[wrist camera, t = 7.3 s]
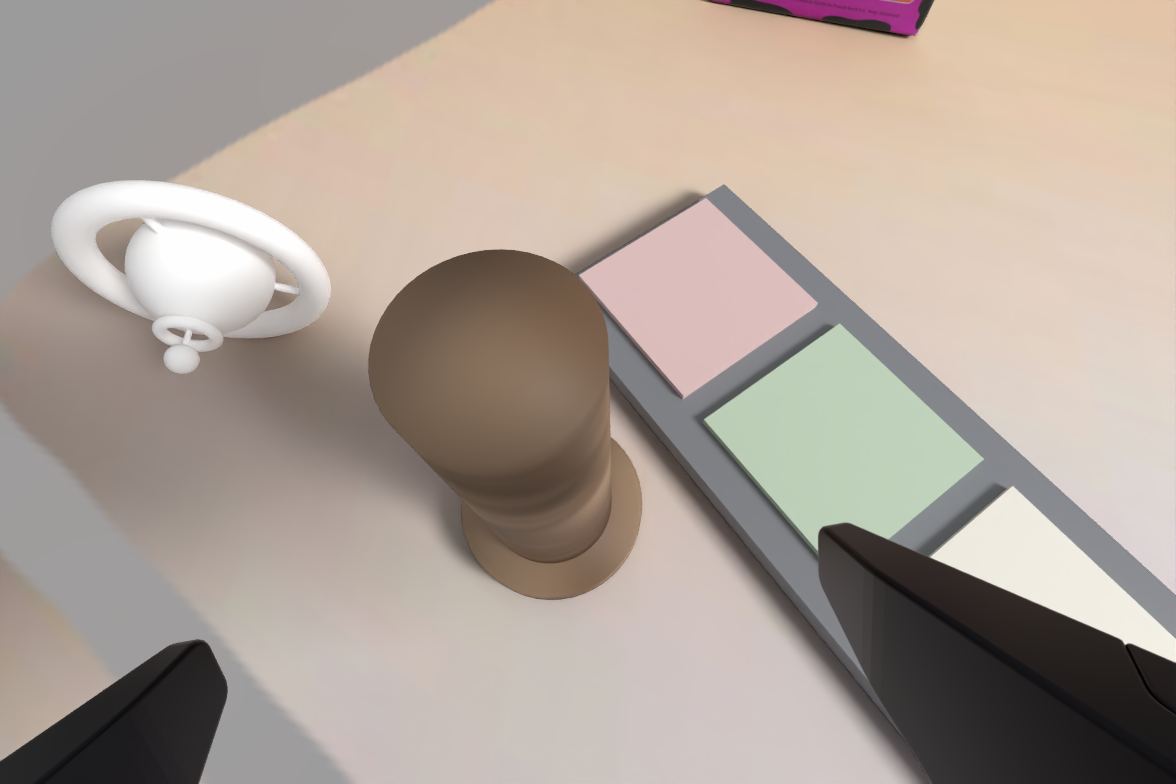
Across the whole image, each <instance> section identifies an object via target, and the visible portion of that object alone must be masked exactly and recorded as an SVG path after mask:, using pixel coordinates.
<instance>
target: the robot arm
mask: <svg viewBox="0 0 1176 784" xmlns="http://www.w3.org/2000/svg"><path fill="white" fill-rule="evenodd" d="M818 575H819V580H820V583H821V586H822V589H823V591H824V593H825V595H826V597H827V599H828V601H829V603H830V605H831V607H832V609H833V611H834V613H835V615H836V617H837V619H838V621H839V623H840V625H841V627H842V629H843V631H844V633H845V635H846V637H847V640H848V642H849V644H850V646H851V648H852V650H853V652H854V654H855V656H856V658H857V660H858V662H859V664H860V666H861V668H862V670H863V672H864V674H865V675H866V677H867V679H868V681H869V683H870V685H871V687H872V688H873V690H874V692H875V693H876V695H877V697H878V698H879V700H880V702H881V703H882V705H883V706H884V708H885V710H886V711H887V713H888V714H889V716H890V717H891V719H892V721H893V722H894V724H895V725H896V727H897V729H898V730H899V732H900V733H901V735H902V736H903V738H904V740H905V741H906V743H907V744H908V746H909V748H910V749H911V751H912V752H913V754H914V756H915V757H916V759H917V760H918V762H919V763H920V765H921V767H922V768H923V770H924V771H925V773H926V775H927V776H928V778H929V779H930V781H931V782H932V784H1176V662H1173V661H1171V660H1169V659H1166V658H1164V657H1162V656H1159V655H1157V654H1155V653H1152V652H1150V651H1148V650H1146V649H1143V648H1141V647H1139V646H1136V645H1134V644H1131V643H1127V644H1126V645H1125V644H1124V642H1123V641H1122V640H1121V639H1119V638H1117V637H1115V636H1112V635H1110V634H1108V633H1105V632H1103V631H1101V630H1098V629H1096V628H1094V627H1091V626H1089V625H1087V624H1084V623H1082V622H1080V621H1077V620H1075V619H1073V618H1070V617H1068V616H1066V615H1063V614H1061V613H1059V612H1056V611H1054V610H1052V609H1049V608H1047V607H1045V606H1042V605H1040V604H1038V603H1035V602H1033V601H1031V600H1028V599H1026V598H1024V597H1021V596H1019V595H1017V594H1014V593H1012V592H1010V591H1007V590H1005V589H1003V588H1000V587H998V586H996V585H993V584H991V583H989V582H986V581H984V580H982V579H979V578H977V577H975V576H972V575H970V574H968V573H965V572H963V571H961V570H958V569H956V568H954V567H951V566H949V565H947V564H944V563H942V562H940V561H937V560H935V559H933V558H930V557H928V556H926V555H923V554H921V553H919V552H916V551H914V550H912V549H909V548H907V547H905V546H902V545H900V544H898V543H895V542H893V541H891V540H888V539H886V538H884V537H881V536H879V535H877V534H874V533H872V532H870V531H867V530H865V529H863V528H860V527H858V526H856V525H853V524H851V523H847V522H844V523H838V524H832V525H827V526H823V527H822V528H821V529H820V530H819V533H818ZM227 692H228V690H227V682H226V679H225V677H224V675H223V673H222V671H221V669H220V667H219V664H218V663H217V660H216V658H215V656H214V654H213V652H212V650H211V648H210V646H209V645H208V644H207V643H206V642H205V641H204V640H199V639H198V640H197V639H196V640H191V641H185V642H180V643H176V644H172V645H169V646H168V647H166V648H165V649H163V650H162V651H160V652H159V653H157V654H156V655H154V656H153V657H151V658H150V659H148V660H147V661H146V662H144V663H143V664H141V665H140V666H138V667H137V668H135V669H134V670H132V671H131V672H130V673H128V674H127V675H125V676H124V677H122V678H121V679H119V680H118V681H116V682H115V683H114V684H112V685H111V686H109V687H108V688H106V689H105V690H103V691H102V692H100V693H99V694H98V695H96V696H95V697H93V698H92V699H90V700H89V701H87V702H86V703H84V704H83V705H82V706H80V707H79V708H77V709H76V710H74V711H73V712H71V713H70V714H68V715H67V716H66V717H64V718H63V719H61V720H60V721H58V722H57V723H55V724H54V725H52V726H51V727H50V728H48V729H47V730H45V731H44V732H42V733H41V734H39V735H38V736H36V737H35V738H34V739H32V740H31V741H29V742H28V743H26V744H25V745H23V746H22V747H20V748H19V749H18V750H16V751H15V752H13V753H12V754H10V755H9V756H7V757H6V758H4V759H3V760H2V761H0V784H199V782H200V779H201V776H202V773H203V770H204V766H205V763H206V760H207V757H208V754H209V751H210V748H211V745H212V742H213V739H214V736H215V733H216V730H217V727H218V724H219V721H220V718H221V715H222V711H223V709H224V706H225V703H226V699H227Z"/></svg>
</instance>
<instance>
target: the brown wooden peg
mask: <svg viewBox="0 0 1176 784" xmlns="http://www.w3.org/2000/svg"><path fill="white" fill-rule="evenodd" d="M369 379H370V386H371V389H372V392H373V396H374V399H375V401H376V403H377V405H378V407H379V409H380V411H381V413H382V414H383V416H384V417H385V419H386V420H387V421H388V423H389V424H390V425H391V426H392V427H393V428H394V429H395V430H396V431H397V432H398V433H399V434H400V436H401V437H402V438H403V439H404V440H405V441H406V442H407V443H408V444H409V445H410V446H411V447H412V448H413V449H414V450H415V451H416V452H417V453H418V454H419V455H420V456H421V457H422V458H423V459H424V460H425V461H426V462H427V463H428V464H429V466H430V467H431V468H432V469H433V470H434V471H435V472H436V473H437V474H438V475H439V476H440V477H441V478H442V479H443V480H444V481H445V482H446V483H447V484H448V485H449V486H450V487H451V488H452V489H453V490H454V491H455V492H456V493H457V494H458V495H459V497H460V498H461V499H462V505H461V516H462V525H463V530H464V534H465V537H466V540H467V543H468V546H469V547H470V549H471V551H472V553H473V555H474V557H475V558H476V560H477V561H478V562H479V564H480V565H481V566H482V567H483V568H484V569H485V571H486V572H487V573H488V574H489V575H491V576H492V577H493V578H494V579H496V580H497V581H498V582H500V583H501V584H503V585H504V586H506V587H508V588H509V589H511V590H513V591H515V592H517V593H520V594H522V595H525V596H528V597H532V598H536V599H545V600H559V599H566V598H572V597H575V596H578V595H581V594H584V593H586V592H589V591H591V590H593V589H595V588H596V587H598V586H599V585H601V584H603V583H604V582H605V581H607V580H608V579H609V578H610V577H611V576H612V575H614V574H615V572H616V571H617V570H618V569H619V568H620V567H621V566H622V565H623V563H624V562H625V560H626V559H627V557H628V556H629V554H630V552H631V550H632V548H633V546H634V543H635V541H636V538H637V535H638V531H639V526H640V521H641V514H642V493H641V487H640V482H639V479H638V476H637V473H636V470H635V468H634V466H633V464H632V462H631V460H630V459H629V457H628V456H627V454H626V453H625V451H624V450H623V449H622V448H621V447H620V445H619V444H618V443H617V442H616V441H615V440H614V439H612V438H611V437H610V390H609V344H608V332H607V327H606V322H605V319H604V316H603V313H602V310H601V308H600V306H599V304H598V303H597V301H596V299H595V297H594V296H593V294H592V293H591V292H590V290H589V289H588V288H587V286H586V285H585V284H584V283H583V282H582V281H581V280H580V279H579V278H578V277H577V276H575V275H574V274H573V273H571V272H570V271H569V270H568V269H566V268H564V267H563V266H561V265H559V264H557V263H556V262H554V261H551V260H549V259H547V258H544V257H542V256H538V255H535V254H531V253H527V252H522V251H516V250H484V251H478V252H472V253H468V254H464V255H460V256H457V257H454V258H451V259H449V260H446V261H443V262H441V263H439V264H437V265H435V266H433V267H431V268H430V269H428V270H427V271H425V272H423V273H422V274H420V275H419V276H417V277H416V278H415V279H414V280H412V281H411V282H410V283H409V284H407V285H406V286H405V287H404V288H403V289H402V290H401V291H400V292H399V293H398V294H397V295H396V297H395V298H394V299H393V301H392V302H391V303H390V304H389V306H388V307H387V309H386V310H385V312H384V314H383V315H382V317H381V318H380V321H379V323H378V325H377V327H376V330H375V332H374V335H373V339H372V342H371V346H370V352H369Z"/></svg>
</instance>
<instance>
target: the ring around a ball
mask: <svg viewBox="0 0 1176 784" xmlns="http://www.w3.org/2000/svg"><path fill="white" fill-rule="evenodd" d="M132 218H140V219H142V220H143V221H144V223H143V224H142V225H141V226H140V227H139V228H138V229H137V230H136V231H135V233H134V235H133V236H132V238H131V240H130V242H129V244H128V246H127V250H126V255H125V273H126V275H125V274H123V273H122V272H120V271H119V270H118V269H117V268H115V267H114V266H113V265H112V264H111V263H110V262H109V261H108V260H107V259H106V258H105V257H104V256H103V255H102V253H101V252H100V250H99V248H98V247H97V243H96V234H97V232H98V231H99V230H100V229H101V228H102V227H104V226H105V225H107V224H109V223H113V222H116V221H119V220H125V219H132ZM51 239H52V242H53V245H54V247H55V250H56V252H57V255H58V256H59V257H60V259H61V260H62V262H63V263H64V265H65V266H66V267H67V268H68V269H69V270H70V271H71V273H72V274H73V275H74V276H75V277H76V278H77V279H78V280H80V281H81V282H82V283H83V284H85V285H86V286H87V287H89V288H90V289H91V290H92V291H94V292H96V293H97V294H99V295H100V296H102V297H103V298H105V299H107V300H108V301H110V302H112V303H114V304H116V305H118V306H119V307H121V308H123V309H125V310H127V311H130V312H132V313H134V314H137V315H139V316H141V317H144V318H146V319H149V320H152V321H154V322H153V324H152V332H153V334H154V335H155V336H156V337H157V338H158V339H159V340H160V341H162V342H164V343H165V344H167V345H170V346H171V347H170V348H168V349H167V350H166V352H165V354H164V363H165V365H166V367H167V368H168V369H169V370H171V371H173V372H175V373H179V374H185V373H190V372H192V371H193V370H195V369H196V368H197V366H198V365H199V362H200V357H199V354H198V352H205V351H211V350H215V349H217V348H218V347H220V346H221V345H222V343H223V337H228V338H266V337H275V336H280V335H284V334H289V333H292V332H295V331H298V330H300V329H303V328H305V327H306V326H308V325H310V324H312V323H313V322H314V321H315V320H316V319H318V318H319V317H320V316H321V315H322V313H323V312H324V310H325V309H326V307H327V306H328V303H329V299H330V295H331V288H330V280H329V277H328V274H327V271H326V269H325V267H324V265H323V264H322V262H321V260H320V259H319V257H318V256H317V255H316V253H315V252H314V251H313V250H312V249H311V248H310V246H309V245H308V244H307V243H306V242H304V241H303V240H302V239H301V238H300V237H299V236H298V235H296V234H295V233H294V232H293V231H291V230H290V229H288V228H287V227H286V226H284V225H283V224H281V223H280V222H278V221H277V220H275V219H273V218H271V217H270V216H268V215H266V214H264V213H262V212H261V211H259V210H257V209H254V208H252V207H250V206H248V205H246V204H243V203H241V202H239V201H236V200H234V199H231V198H228V197H225V196H222V195H220V194H217V193H214V192H210V191H206V190H202V189H199V188H195V187H191V186H186V185H180V184H174V183H169V182H159V181H147V180H126V181H114V182H108V183H101V184H97V185H94V186H91V187H88V188H85V189H82V190H80V191H78V192H77V193H75V194H73V195H71V196H70V197H68V198H67V199H65V200H64V202H63V203H62V204H61V205H60V206H59V207H58V208H57V209H56V211H55V214H54V216H53V219H52V222H51ZM271 256H273V257H274V258H275V259H277V260H278V261H279V262H280V263H282V264H283V265H284V266H285V267H286V268H287V269H288V270H289V271H290V272H291V273H292V275H293V276H294V277H295V279H296V280H297V283H298V285H299V287H296V286H291V285H286V284H281V283H276V282H275V281H276V273H275V267H274V263H273V259H272V257H271ZM274 290H276V291H281V292H286V293H291V294H296V295H298V296H297V298H296V299H295V300H294V301H293V302H291V303H290V304H288V305H286V306H283V307H281V308H277V309H273V310H269V311H264V310H265V309H266V308H267V306H268V304H269V302H270V300H271V298H272V296H273V293H274ZM168 328H175V329H178V330H181V331H184V332H185V335H184V338H183V337H180V336H177V335H175V334H173V333H171V332H169V331H168V330H167V329H168ZM192 333H193V334H200V335H206V336H207V337H208V338H209V339H207V340H192V339H191V336H192Z"/></svg>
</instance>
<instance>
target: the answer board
mask: <svg viewBox="0 0 1176 784" xmlns="http://www.w3.org/2000/svg"><path fill="white" fill-rule="evenodd" d="M575 276H577V277H578V278H579V279H580V280H581V281H582V282H583V283H584V284H585V285H586V286H587V288H588V289H589V290H590V292H591V293H592V294H593V296H594V297H595V299H596V301H597V303H598V304H599V306H600V308H601V310H602V313H603V316H604V319H605V322H606V327H607V332H608V344H609V378H610V379H611V380H612V382H613V383H614V384H615V385H616V387H617V388H618V389H619V390H620V391H621V393H622V394H623V395H624V396H625V398H626V399H627V400H628V401H629V402H630V404H631V405H632V406H633V407H634V409H635V410H636V411H637V412H638V413H639V415H640V416H641V417H642V418H643V420H644V421H645V422H646V423H647V425H648V426H649V427H650V428H651V429H652V431H653V432H654V433H655V434H656V436H657V437H658V438H659V439H660V440H661V442H662V443H663V444H664V445H665V447H666V448H667V449H668V450H669V452H670V453H671V454H672V455H673V456H674V458H675V459H676V460H677V461H678V463H679V464H680V465H681V466H682V467H683V469H684V470H685V471H686V472H687V474H688V475H689V476H690V477H691V478H692V480H693V481H694V482H695V483H696V485H697V486H698V487H699V488H700V490H701V491H702V492H703V493H704V494H705V496H706V497H707V498H708V499H709V501H710V502H711V503H712V504H713V505H714V507H715V508H716V509H717V510H718V512H719V513H720V514H721V515H722V517H723V518H724V519H725V520H726V521H727V523H728V524H729V525H730V526H731V528H732V529H733V530H734V531H735V532H736V534H737V535H738V536H739V537H740V539H741V540H742V541H743V542H744V543H745V545H746V546H747V547H748V548H749V550H750V551H751V552H752V553H753V555H754V556H755V557H756V558H757V559H758V561H759V562H760V563H761V564H762V566H763V567H764V568H765V569H766V570H767V572H768V573H769V574H770V575H771V577H772V578H773V579H774V580H775V582H776V583H777V584H778V585H779V586H780V588H781V589H782V590H783V591H784V593H785V594H786V595H787V596H788V597H789V599H790V600H791V601H792V602H793V604H794V605H795V606H796V607H797V608H798V610H799V611H800V612H801V613H802V615H803V616H804V617H805V618H806V620H807V621H808V622H809V623H810V624H811V626H812V627H813V628H814V629H815V631H816V632H817V633H818V634H819V635H820V637H821V638H822V639H823V640H824V642H825V643H826V644H827V645H828V647H829V648H830V649H831V650H832V651H833V653H834V654H835V655H836V656H837V658H838V659H839V660H840V661H841V662H842V664H843V665H844V666H845V667H846V669H847V670H848V671H849V672H850V673H851V675H852V676H853V677H854V678H855V680H856V681H857V682H858V683H859V685H860V686H861V687H862V688H863V689H864V691H865V692H866V693H867V694H868V696H869V697H870V698H871V699H872V700H873V702H874V703H875V704H876V705H877V707H878V708H879V709H880V710H881V712H882V713H883V714H884V715H885V716H886V718H887V719H888V720H889V721H890V723H891V724H892V725H893V726H894V727H895V729H896V730H897V731H898V732H899V730H898V729H897V727H896V725H895V724H894V722H893V721H892V719H891V717H890V716H889V714H888V713H887V711H886V710H885V708H884V706H883V705H882V703H881V702H880V700H879V698H878V697H877V695H876V693H875V692H874V690H873V688H872V687H871V685H870V683H869V681H868V679H867V677H866V675H865V674H864V672H863V670H862V668H861V666H860V664H859V662H858V660H857V658H856V656H855V654H854V652H853V650H852V648H851V646H850V644H849V642H848V640H847V637H846V635H845V633H844V631H843V629H842V627H841V625H840V623H839V621H838V619H837V617H836V615H835V613H834V611H833V609H832V607H831V605H830V603H829V601H828V599H827V597H826V595H825V593H824V591H823V589H822V586H821V583H820V580H819V575H818V533H819V530H820V529H821V528H822V527H823V526H827V525H832V524H838V523H844V522H847V523H851V524H853V525H856V526H858V527H860V528H863V529H865V530H867V531H870V532H872V533H874V534H877V535H879V536H881V537H884V538H886V539H888V540H891V541H893V542H895V543H898V544H900V545H902V546H905V547H907V548H909V549H912V550H914V551H916V552H919V553H921V554H923V555H926V556H928V557H930V558H933V559H935V560H937V561H940V562H942V563H944V564H947V565H949V566H951V567H954V568H956V569H958V570H961V571H963V572H965V573H968V574H970V575H972V576H975V577H977V578H979V579H982V580H984V581H986V582H989V583H991V584H993V585H996V586H998V587H1000V588H1003V589H1005V590H1007V591H1010V592H1012V593H1014V594H1017V595H1019V596H1021V597H1024V598H1026V599H1028V600H1031V601H1033V602H1035V603H1038V604H1040V605H1042V606H1045V607H1047V608H1049V609H1052V610H1054V611H1056V612H1059V613H1061V614H1063V615H1066V616H1068V617H1070V618H1073V619H1075V620H1077V621H1080V622H1082V623H1084V624H1087V625H1089V626H1091V627H1094V628H1096V629H1098V630H1101V631H1103V632H1105V633H1108V634H1110V635H1112V636H1115V637H1117V638H1119V639H1121V640H1122V641H1123V642H1124V644H1125V645H1126V644H1127V643H1131V644H1134V645H1136V646H1139V647H1141V648H1143V649H1146V650H1148V651H1150V652H1152V653H1155V654H1157V655H1159V656H1162V657H1164V658H1166V659H1169V660H1171V661H1173V662H1176V595H1175V594H1174V593H1173V592H1172V591H1171V590H1170V589H1168V588H1167V587H1166V586H1165V585H1164V584H1163V583H1162V582H1161V581H1160V580H1159V579H1157V578H1156V577H1155V576H1154V575H1153V574H1152V573H1151V572H1150V571H1149V570H1148V569H1146V568H1145V567H1144V566H1143V565H1142V564H1141V563H1140V562H1139V561H1138V560H1137V559H1135V558H1134V557H1133V556H1132V555H1131V554H1130V553H1129V552H1128V551H1127V550H1126V549H1124V548H1123V547H1122V546H1121V545H1120V544H1119V543H1118V542H1117V541H1116V540H1115V539H1113V538H1112V537H1111V536H1110V535H1109V534H1108V533H1107V532H1106V531H1105V530H1104V529H1102V528H1101V527H1100V526H1099V525H1098V524H1097V523H1096V522H1095V521H1094V520H1093V519H1091V518H1090V517H1089V516H1088V515H1087V514H1086V513H1085V512H1084V511H1083V510H1082V509H1081V508H1079V507H1078V506H1077V505H1076V504H1075V503H1074V502H1073V501H1072V500H1071V499H1070V498H1068V497H1067V496H1066V495H1065V494H1064V493H1063V492H1062V491H1061V490H1060V489H1059V488H1057V487H1056V486H1055V485H1054V484H1053V483H1052V482H1051V481H1050V480H1049V479H1048V478H1046V477H1045V476H1044V475H1043V474H1042V473H1041V472H1040V471H1039V470H1038V469H1037V468H1035V467H1034V466H1033V465H1032V464H1031V463H1030V462H1029V461H1028V460H1027V459H1026V458H1024V457H1023V456H1022V455H1021V454H1020V453H1019V452H1018V451H1017V450H1016V449H1015V448H1013V447H1012V446H1011V445H1010V444H1009V443H1008V442H1007V441H1006V440H1005V439H1004V438H1002V437H1001V436H1000V435H999V434H998V433H997V432H996V431H995V430H994V429H993V428H991V427H990V426H989V425H988V424H987V423H986V422H985V421H984V420H983V419H982V418H980V417H979V416H978V415H977V414H976V413H975V412H974V411H973V410H972V409H971V408H969V407H968V406H967V405H966V404H965V403H964V402H963V401H962V400H961V399H960V398H958V397H957V396H956V395H955V394H954V393H953V392H952V391H951V390H950V389H949V388H947V387H946V386H945V385H944V384H943V383H942V382H941V381H940V380H939V379H938V378H937V377H935V376H934V375H933V374H932V373H931V372H930V371H929V370H928V369H927V368H926V367H924V366H923V365H922V364H921V363H920V362H919V361H918V360H917V359H916V358H915V357H913V356H912V355H911V354H910V353H909V352H908V351H907V350H906V349H905V348H904V347H902V346H901V345H900V344H899V343H898V342H897V341H896V340H895V339H894V338H893V337H891V336H890V335H889V334H888V333H887V332H886V331H885V330H884V329H883V328H882V327H880V326H879V325H878V324H877V323H876V322H875V321H874V320H873V319H872V318H871V317H869V316H868V315H867V314H866V313H865V312H864V311H863V310H862V309H861V308H860V307H858V306H857V305H856V304H855V303H854V302H853V301H852V300H851V299H850V298H849V297H847V296H846V295H845V294H844V293H843V292H842V291H841V290H840V289H839V288H838V287H836V286H835V285H834V284H833V283H832V282H831V281H830V280H829V279H828V278H827V277H825V276H824V275H823V274H822V273H821V272H820V271H819V270H818V269H817V268H816V267H814V266H813V265H812V264H811V263H810V262H809V261H808V260H807V259H806V258H805V257H804V256H802V255H801V254H800V253H799V252H798V251H797V250H796V249H795V248H794V247H793V246H791V245H790V244H789V243H788V242H787V241H786V240H785V239H784V238H783V237H782V236H780V235H779V234H778V233H777V232H776V231H775V230H774V229H773V228H772V227H771V226H769V225H768V224H767V223H766V222H765V221H764V220H763V219H762V218H761V217H760V216H758V215H757V214H756V213H755V212H754V211H753V210H752V209H751V208H750V207H749V206H747V205H746V204H745V203H744V202H743V201H742V200H741V199H740V198H739V197H738V196H736V195H735V194H734V193H733V192H732V191H731V190H730V189H729V188H728V187H727V186H725V185H722V186H721V187H719V188H717V189H716V190H714V191H712V192H711V193H709V194H707V195H706V196H704V197H702V198H701V199H699V200H697V201H696V202H694V203H692V204H691V205H689V206H687V207H686V208H684V209H683V210H681V211H679V212H678V213H676V214H674V215H673V216H671V217H669V218H668V219H666V220H664V221H663V222H661V223H659V224H658V225H656V226H654V227H653V228H651V229H649V230H648V231H646V232H644V233H643V234H641V235H639V236H638V237H636V238H635V239H633V240H631V241H630V242H628V243H626V244H625V245H623V246H621V247H620V248H618V249H616V250H615V251H613V252H611V253H610V254H608V255H606V256H605V257H603V258H601V259H600V260H598V261H596V262H595V263H593V264H591V265H590V266H588V267H587V268H585V269H583V270H582V271H580V272H578V273H577V274H575ZM899 734H900V735H901V733H900V732H899ZM901 736H902V735H901ZM902 737H903V736H902Z"/></svg>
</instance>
